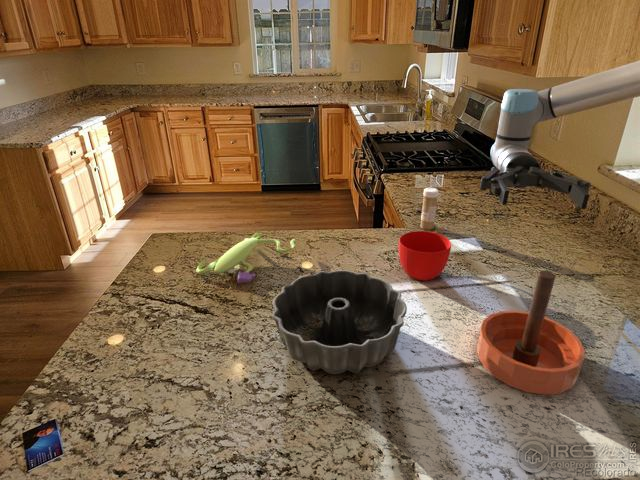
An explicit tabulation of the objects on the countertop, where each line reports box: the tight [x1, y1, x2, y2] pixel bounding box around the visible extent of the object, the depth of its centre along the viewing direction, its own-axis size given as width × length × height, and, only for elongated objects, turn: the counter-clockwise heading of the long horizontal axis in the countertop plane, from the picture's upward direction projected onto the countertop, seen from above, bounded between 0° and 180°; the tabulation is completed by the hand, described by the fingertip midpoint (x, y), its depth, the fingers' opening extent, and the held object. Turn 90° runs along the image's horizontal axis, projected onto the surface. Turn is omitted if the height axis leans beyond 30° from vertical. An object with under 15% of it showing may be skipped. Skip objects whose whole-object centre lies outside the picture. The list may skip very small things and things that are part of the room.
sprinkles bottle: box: [419, 187, 439, 231], centre depth 136 cm, size 5×5×13 cm
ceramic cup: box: [398, 230, 452, 282], centre depth 112 cm, size 13×17×10 cm
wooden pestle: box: [513, 270, 556, 367], centre depth 78 cm, size 4×4×19 cm
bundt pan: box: [271, 269, 408, 375], centre depth 86 cm, size 26×26×10 cm
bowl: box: [476, 310, 586, 395], centre depth 81 cm, size 18×18×6 cm
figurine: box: [195, 232, 297, 284], centre depth 117 cm, size 18×27×6 cm
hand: (545, 200), depth 78 cm, fingers open, 13 cm apart
